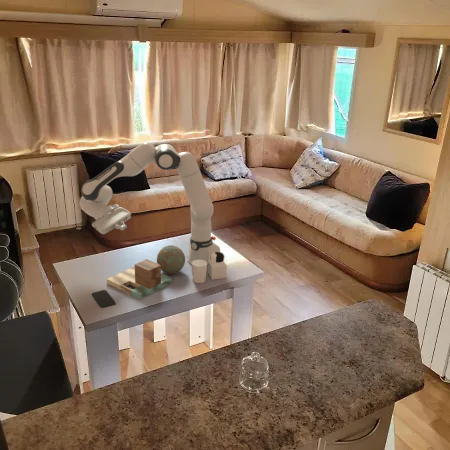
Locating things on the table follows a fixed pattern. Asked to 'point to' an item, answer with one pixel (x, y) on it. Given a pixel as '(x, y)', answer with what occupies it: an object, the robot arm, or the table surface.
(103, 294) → the phone
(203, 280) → the white cup
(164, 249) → the decorative sphere
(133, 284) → the board
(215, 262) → the container
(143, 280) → the walnut block
